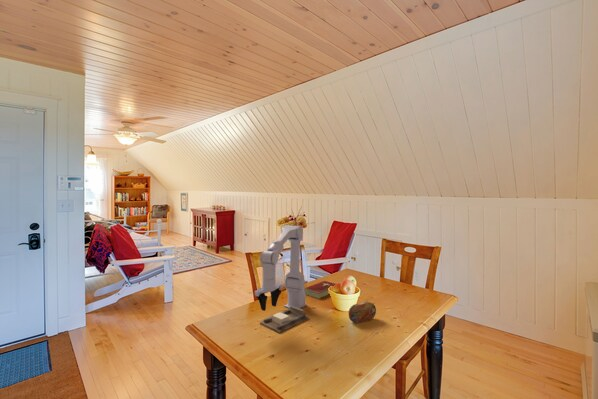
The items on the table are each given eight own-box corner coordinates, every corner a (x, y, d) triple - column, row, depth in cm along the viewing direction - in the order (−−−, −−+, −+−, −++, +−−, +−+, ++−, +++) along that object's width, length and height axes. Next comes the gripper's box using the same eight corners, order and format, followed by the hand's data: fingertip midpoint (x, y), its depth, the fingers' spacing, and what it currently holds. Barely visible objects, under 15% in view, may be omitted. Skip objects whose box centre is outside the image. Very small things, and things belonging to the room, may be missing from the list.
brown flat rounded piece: (351, 325, 135) (351, 307, 135) (347, 322, 138) (347, 304, 138) (376, 319, 142) (376, 301, 142) (371, 316, 145) (372, 299, 145)
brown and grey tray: (290, 310, 150) (290, 303, 150) (309, 318, 141) (309, 310, 141) (259, 323, 135) (260, 315, 135) (279, 333, 127) (279, 324, 126)
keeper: (280, 317, 140) (280, 312, 140) (288, 321, 136) (289, 315, 136) (272, 321, 136) (272, 315, 136) (281, 325, 132) (281, 319, 132)
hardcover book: (302, 294, 175) (303, 287, 175) (324, 286, 191) (324, 280, 190) (318, 299, 167) (318, 292, 167) (339, 290, 183) (339, 284, 182)
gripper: (274, 272, 138) (274, 301, 138) (250, 279, 127) (250, 310, 128) (285, 275, 133) (285, 305, 134) (260, 283, 122) (260, 315, 123)
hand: (268, 308), depth 130 cm, fingers open, 6 cm apart
